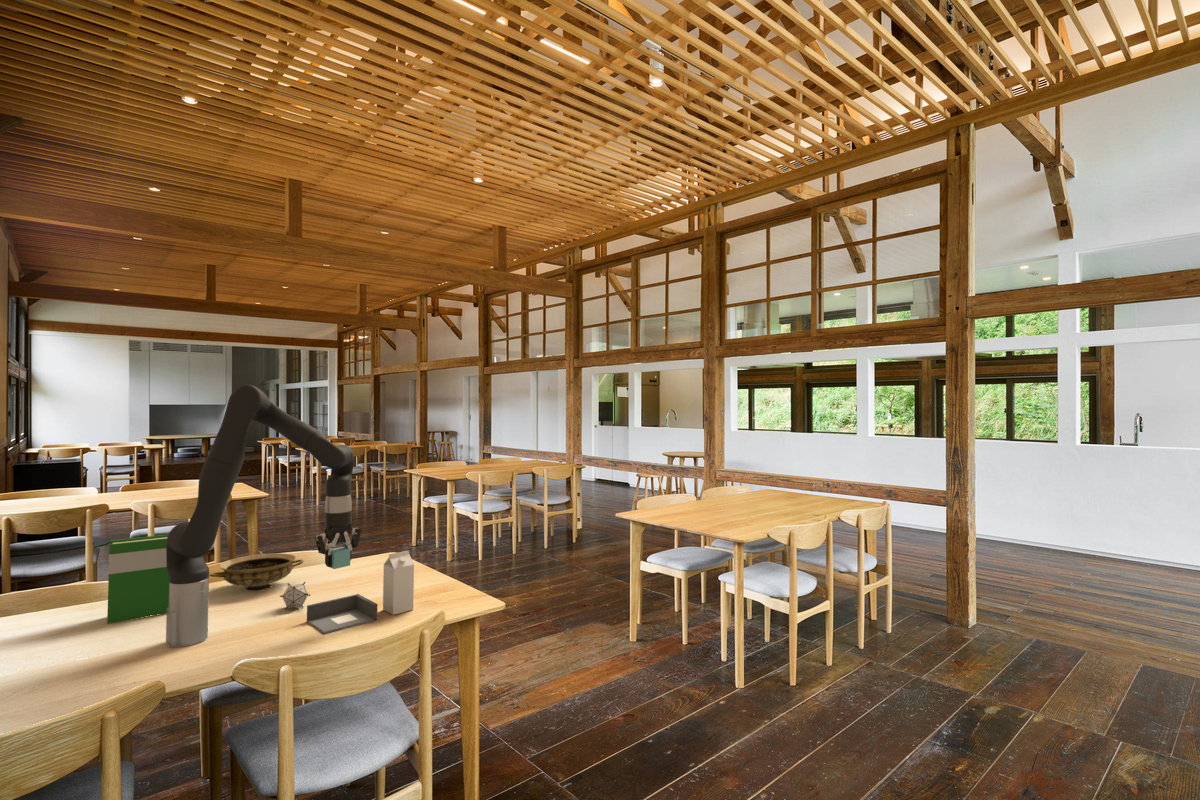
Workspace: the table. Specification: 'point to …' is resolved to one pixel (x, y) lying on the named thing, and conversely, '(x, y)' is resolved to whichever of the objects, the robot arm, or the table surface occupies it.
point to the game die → (295, 595)
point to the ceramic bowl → (257, 570)
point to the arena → (341, 613)
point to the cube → (340, 557)
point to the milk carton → (398, 583)
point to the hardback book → (137, 578)
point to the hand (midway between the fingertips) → (338, 564)
